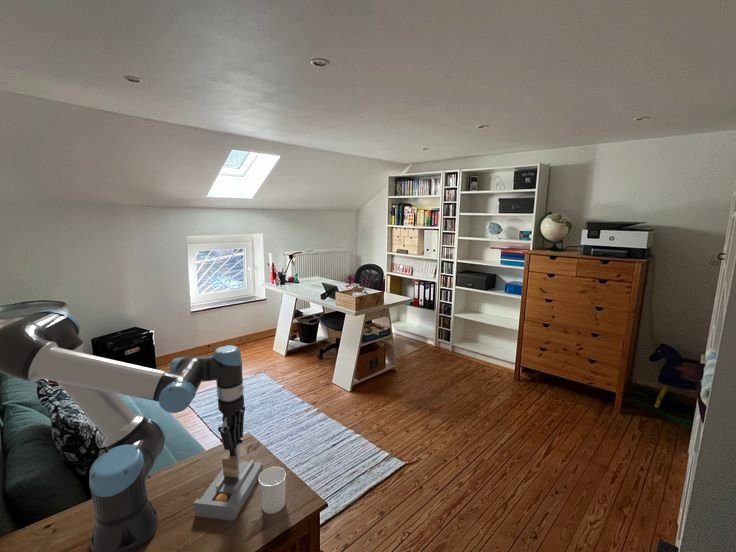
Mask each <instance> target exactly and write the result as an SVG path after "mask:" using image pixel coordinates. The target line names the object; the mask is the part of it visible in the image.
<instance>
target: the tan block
mask: <svg viewBox="0 0 736 552" xmlns="http://www.w3.org/2000/svg"><path fill="white" fill-rule="evenodd" d="M221 460H222V469H223V476H224V482H225V484H232V485H236V483H237V482H238V480H239V479H238V475H239V462H238V457H236V456H230V455H224V456H223V457H222V459H221Z"/></svg>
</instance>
